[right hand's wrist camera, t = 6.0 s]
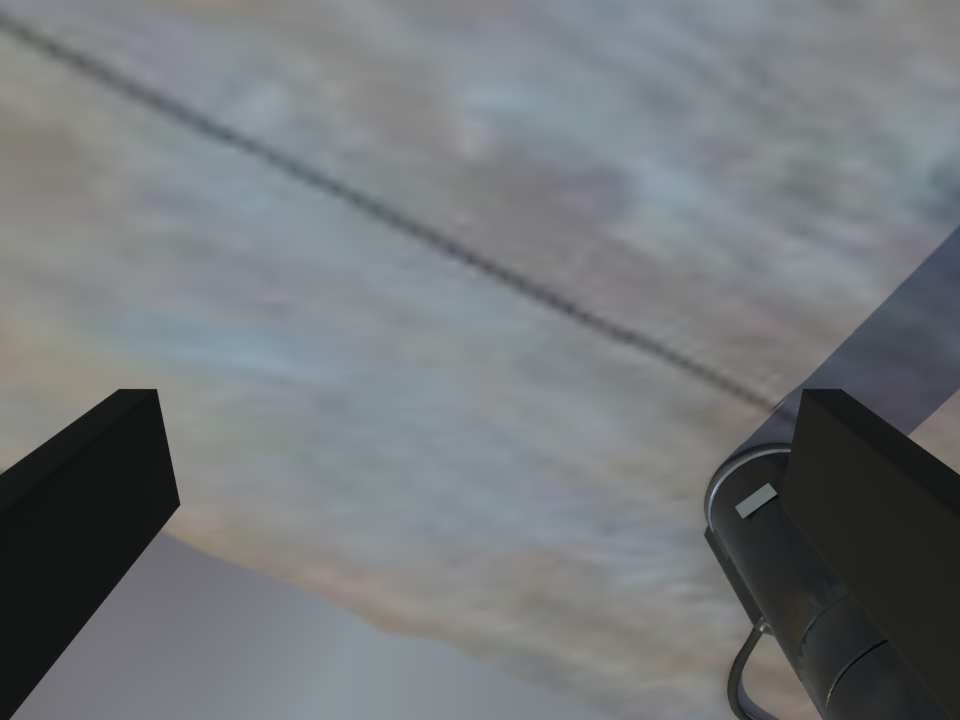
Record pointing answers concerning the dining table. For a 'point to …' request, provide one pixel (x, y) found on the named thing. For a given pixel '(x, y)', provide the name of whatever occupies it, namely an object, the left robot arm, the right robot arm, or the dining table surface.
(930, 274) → the dining table surface
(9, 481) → the right robot arm
